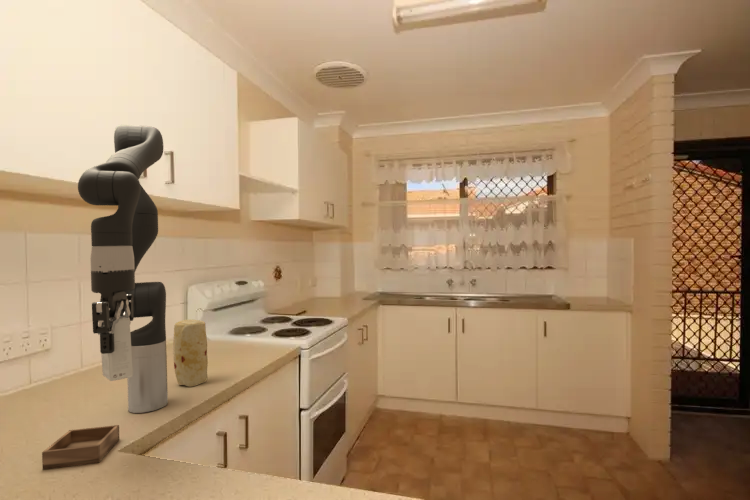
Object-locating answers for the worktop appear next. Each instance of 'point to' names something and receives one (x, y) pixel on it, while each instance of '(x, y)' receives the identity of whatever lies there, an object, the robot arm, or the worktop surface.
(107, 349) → the robot arm
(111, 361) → the skincare box
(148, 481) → the worktop surface
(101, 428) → the brown square tray
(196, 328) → the food model
